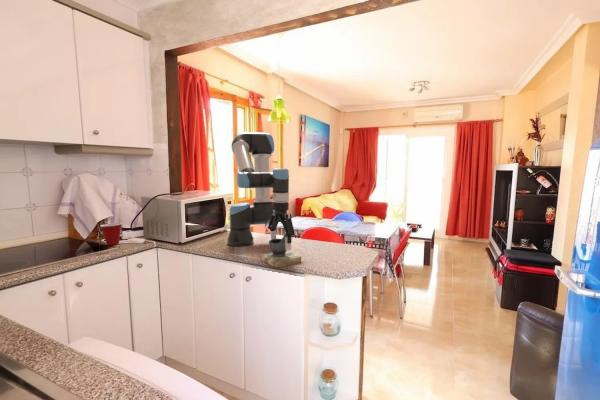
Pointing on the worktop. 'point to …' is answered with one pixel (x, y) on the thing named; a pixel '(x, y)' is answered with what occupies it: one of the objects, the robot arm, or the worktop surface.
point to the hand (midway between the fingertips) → (280, 246)
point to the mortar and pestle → (278, 246)
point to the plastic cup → (112, 233)
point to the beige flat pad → (280, 259)
